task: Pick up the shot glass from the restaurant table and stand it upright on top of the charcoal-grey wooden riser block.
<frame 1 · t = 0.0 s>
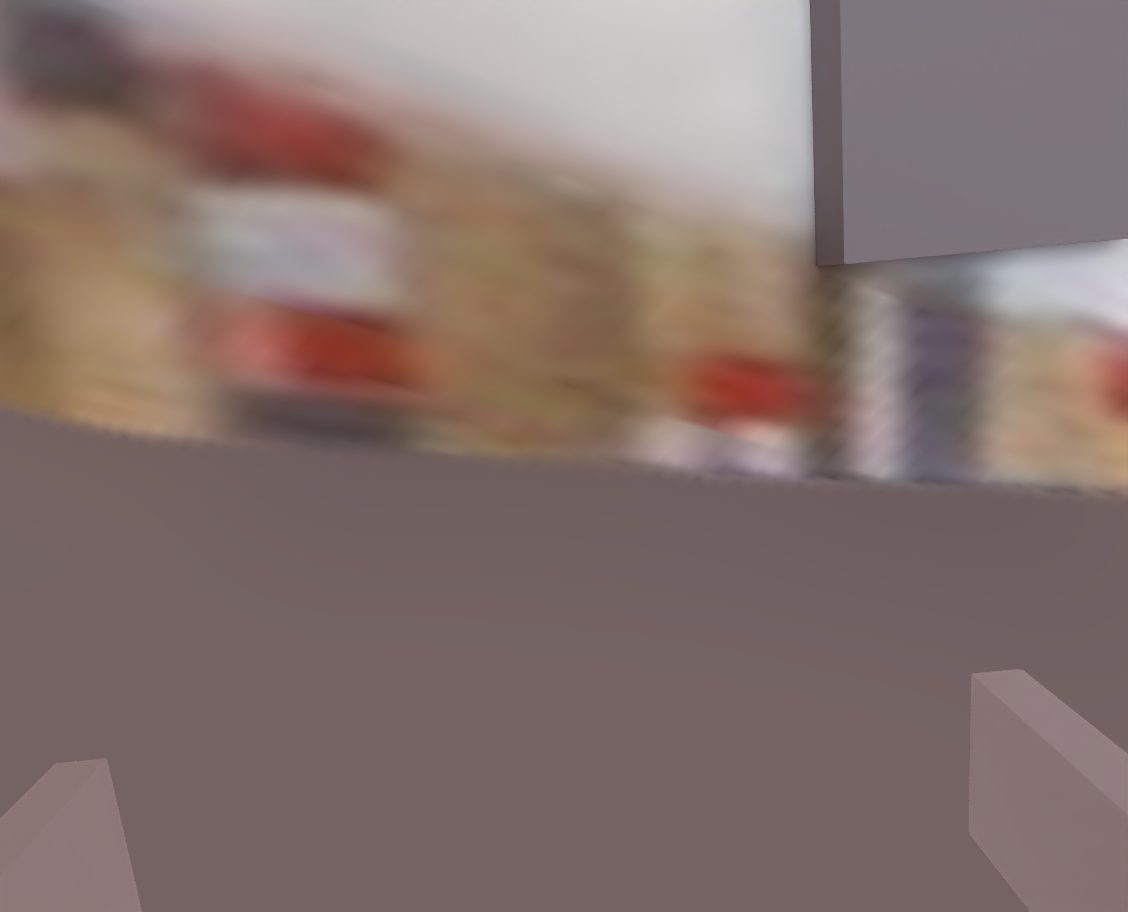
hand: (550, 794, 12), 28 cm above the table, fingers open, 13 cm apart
riser: (960, 96, 38), on the table
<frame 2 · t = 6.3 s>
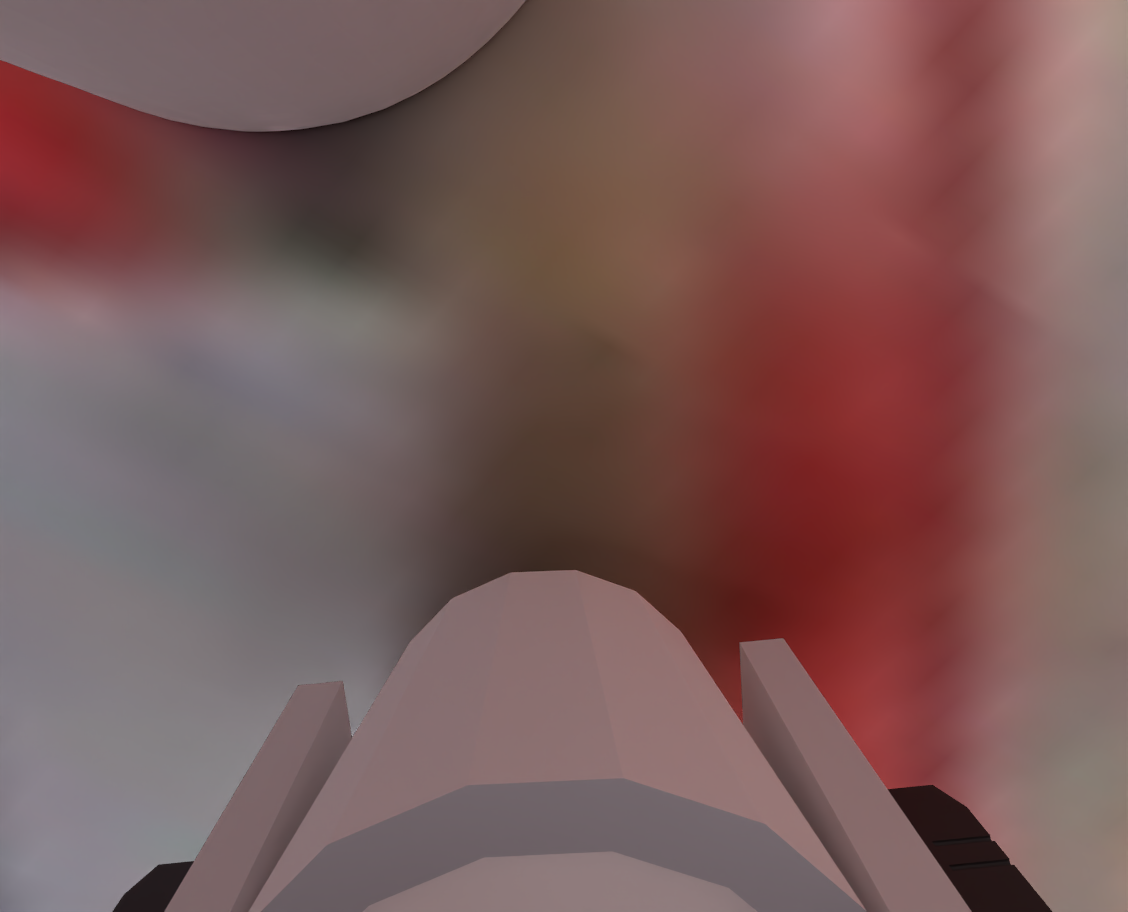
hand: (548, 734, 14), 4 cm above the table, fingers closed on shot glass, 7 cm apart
shot glass: (548, 713, 15), point 3 cm above the table, touching gripper
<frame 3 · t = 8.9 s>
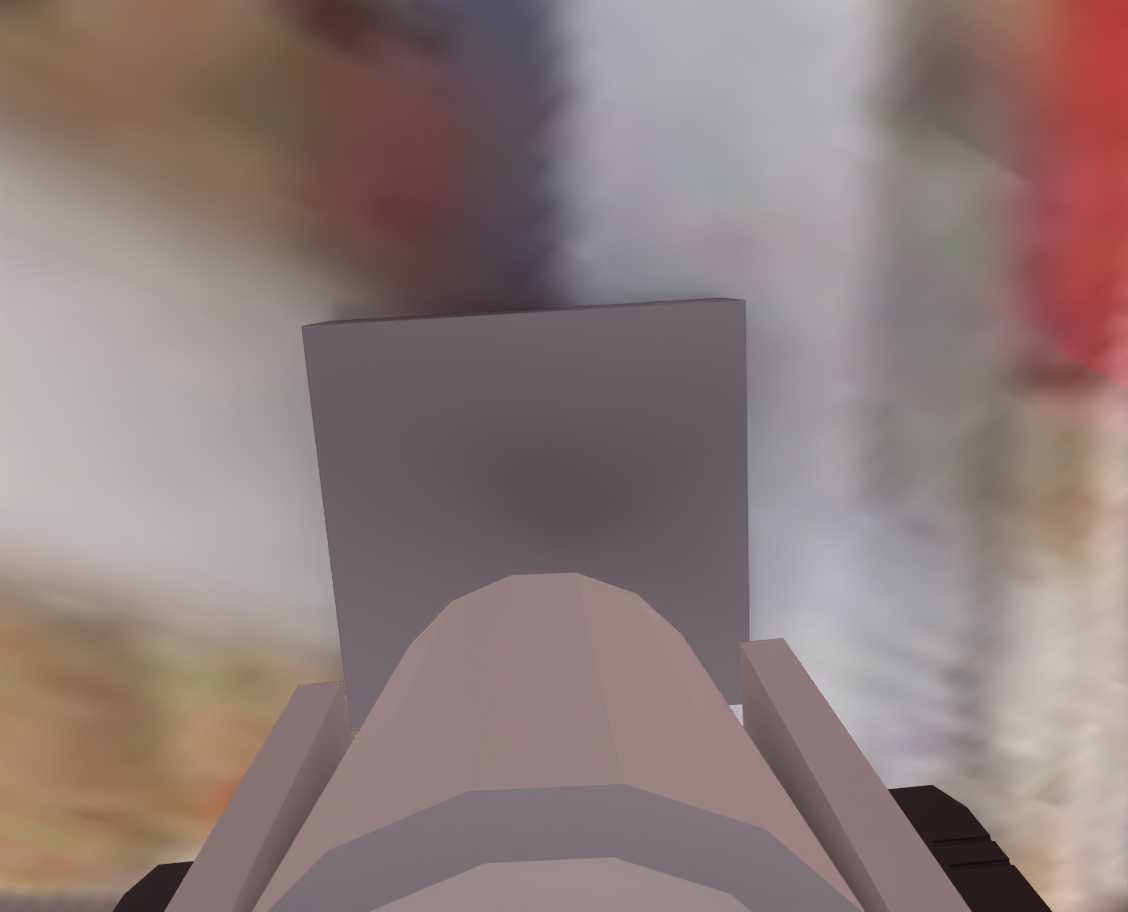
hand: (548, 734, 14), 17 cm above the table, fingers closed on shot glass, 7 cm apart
shot glass: (549, 716, 15), point 16 cm above the table, touching gripper
riser: (538, 495, 31), on the table
when the fingers open (5 cm above the table, at t = 11.8 s): shot glass drops 1 cm, point 3 cm above the table.
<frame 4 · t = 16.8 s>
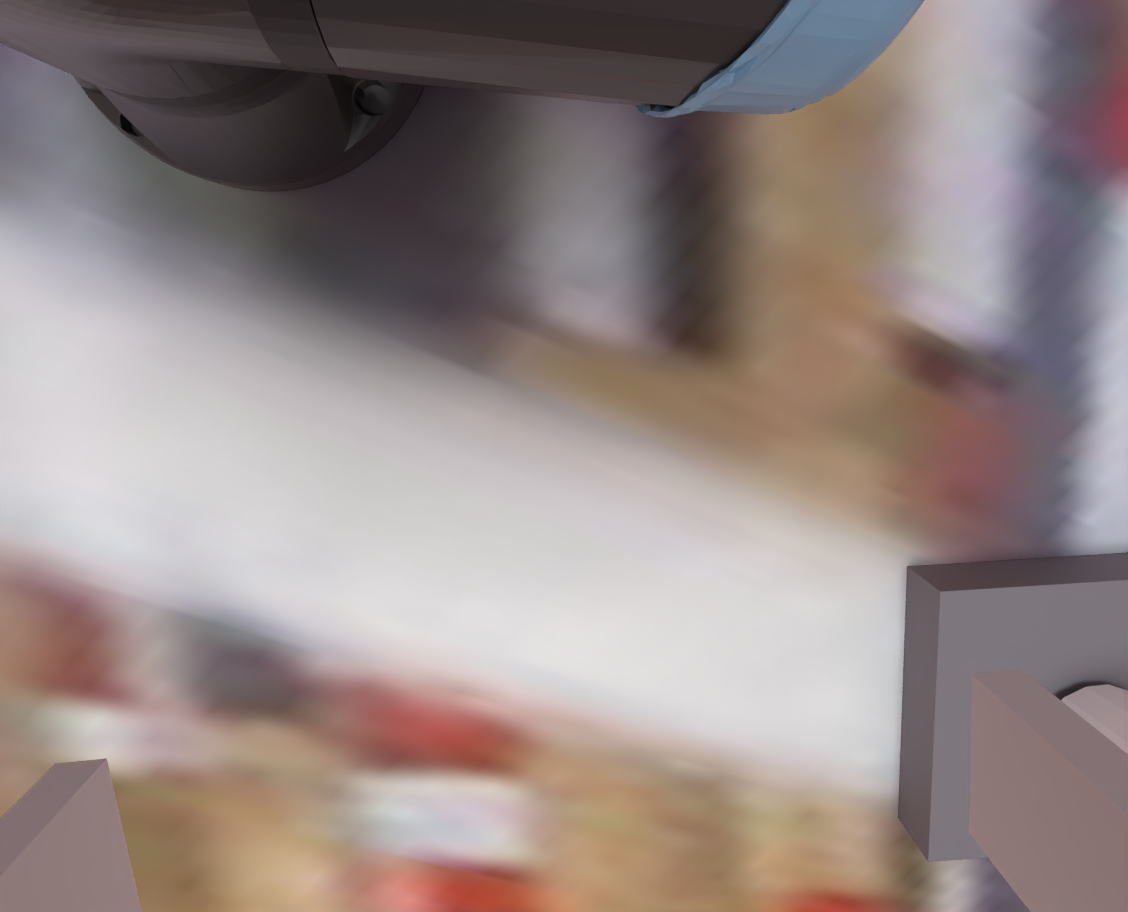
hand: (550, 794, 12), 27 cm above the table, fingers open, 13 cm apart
shot glass: (1085, 734, 39), point 3 cm above the table
riser: (1030, 681, 43), on the table
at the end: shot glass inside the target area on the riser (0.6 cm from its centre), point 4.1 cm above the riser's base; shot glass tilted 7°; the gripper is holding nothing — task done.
